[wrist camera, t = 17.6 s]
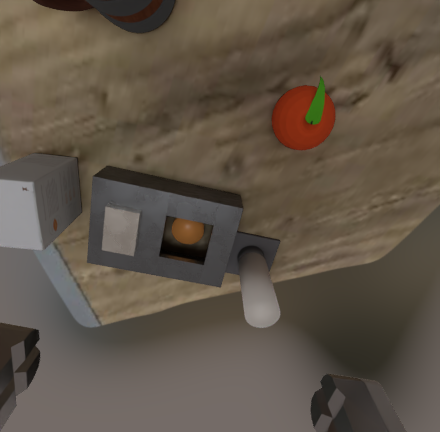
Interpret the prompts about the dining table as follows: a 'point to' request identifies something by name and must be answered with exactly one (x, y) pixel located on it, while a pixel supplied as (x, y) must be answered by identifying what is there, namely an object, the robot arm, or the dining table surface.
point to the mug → (121, 11)
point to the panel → (158, 225)
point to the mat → (245, 239)
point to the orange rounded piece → (187, 231)
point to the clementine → (303, 117)
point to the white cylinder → (257, 288)
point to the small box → (38, 200)
